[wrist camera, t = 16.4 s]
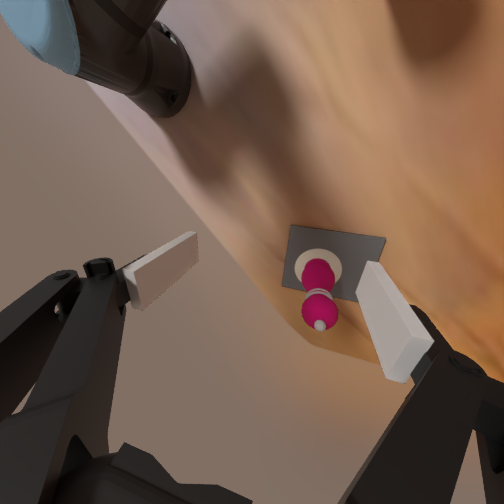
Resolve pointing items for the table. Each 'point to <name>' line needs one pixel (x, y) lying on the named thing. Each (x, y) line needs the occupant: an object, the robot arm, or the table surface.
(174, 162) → the table surface
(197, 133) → the table surface
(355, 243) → the mat
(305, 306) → the pepper mill
